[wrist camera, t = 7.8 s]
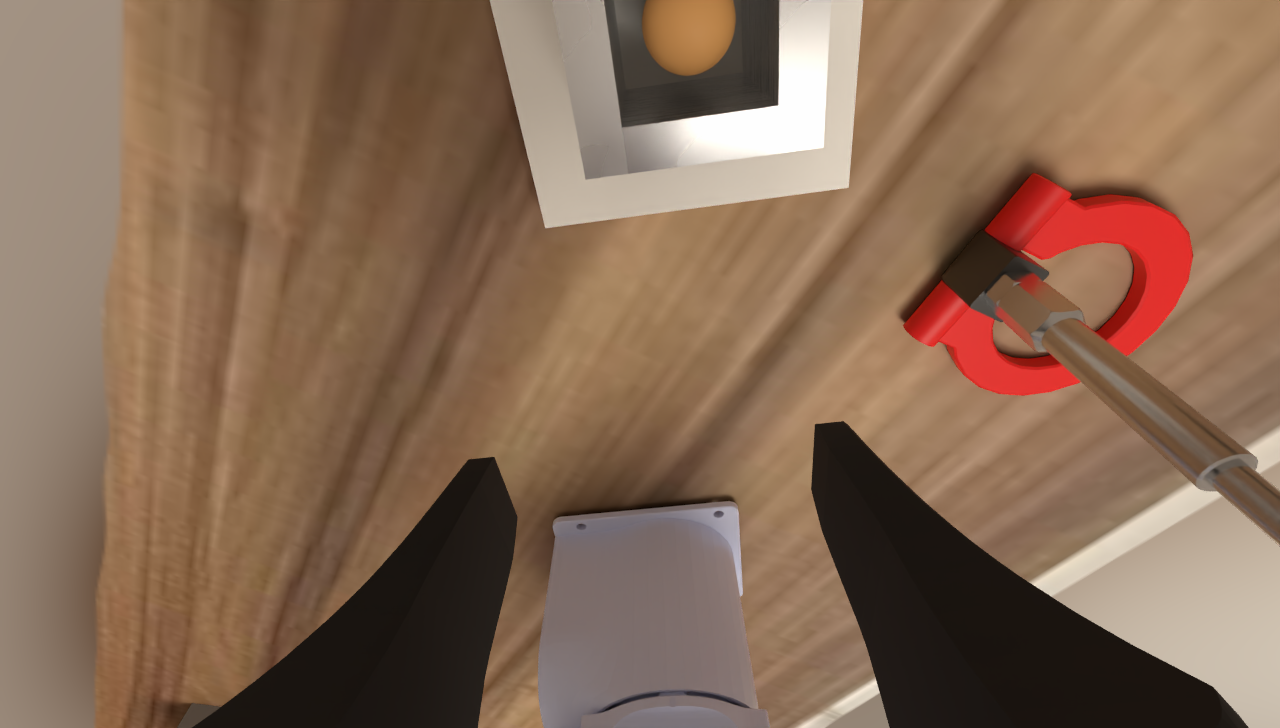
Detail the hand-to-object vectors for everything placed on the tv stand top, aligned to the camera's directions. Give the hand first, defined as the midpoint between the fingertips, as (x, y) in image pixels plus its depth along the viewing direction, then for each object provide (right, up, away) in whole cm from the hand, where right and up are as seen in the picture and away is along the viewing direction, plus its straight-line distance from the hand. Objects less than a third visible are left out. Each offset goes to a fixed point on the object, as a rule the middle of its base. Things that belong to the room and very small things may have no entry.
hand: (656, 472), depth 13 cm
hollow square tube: (+1, +12, +3) cm, 12 cm away
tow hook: (+15, +5, +9) cm, 19 cm away
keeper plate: (+1, +13, +4) cm, 13 cm away
